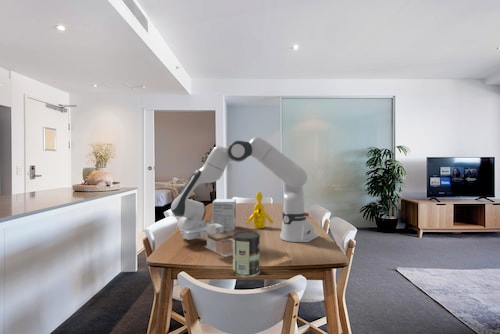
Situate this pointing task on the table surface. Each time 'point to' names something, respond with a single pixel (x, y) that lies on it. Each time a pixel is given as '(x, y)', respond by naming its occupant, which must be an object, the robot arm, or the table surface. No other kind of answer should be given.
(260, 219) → the figure statuette
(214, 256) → the table surface
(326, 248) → the table surface
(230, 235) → the shelf
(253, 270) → the coffee can
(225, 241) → the cube
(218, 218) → the supplement box
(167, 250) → the table surface
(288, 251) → the table surface
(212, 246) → the white pillar stand
